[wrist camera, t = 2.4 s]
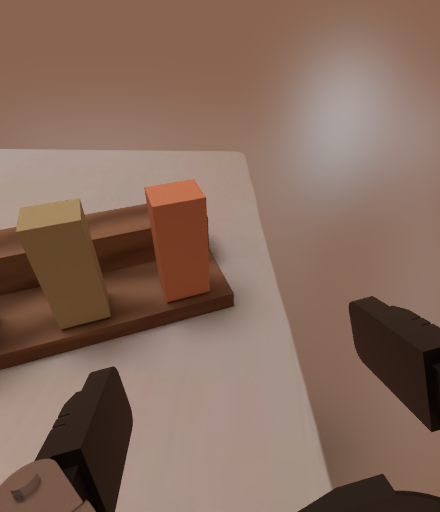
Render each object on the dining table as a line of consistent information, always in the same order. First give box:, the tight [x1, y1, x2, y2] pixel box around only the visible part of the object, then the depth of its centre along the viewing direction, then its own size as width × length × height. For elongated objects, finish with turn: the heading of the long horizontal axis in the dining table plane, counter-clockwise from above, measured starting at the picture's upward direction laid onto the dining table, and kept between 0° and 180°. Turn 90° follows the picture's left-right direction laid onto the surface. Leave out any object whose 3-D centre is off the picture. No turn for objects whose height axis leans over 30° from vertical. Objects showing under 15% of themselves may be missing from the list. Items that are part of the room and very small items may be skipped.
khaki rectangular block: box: [16, 198, 111, 329], centre depth 33 cm, size 4×5×12 cm
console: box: [0, 204, 234, 369], centre depth 40 cm, size 15×32×7 cm, turn 110°
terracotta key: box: [144, 179, 210, 302], centre depth 36 cm, size 4×5×12 cm
